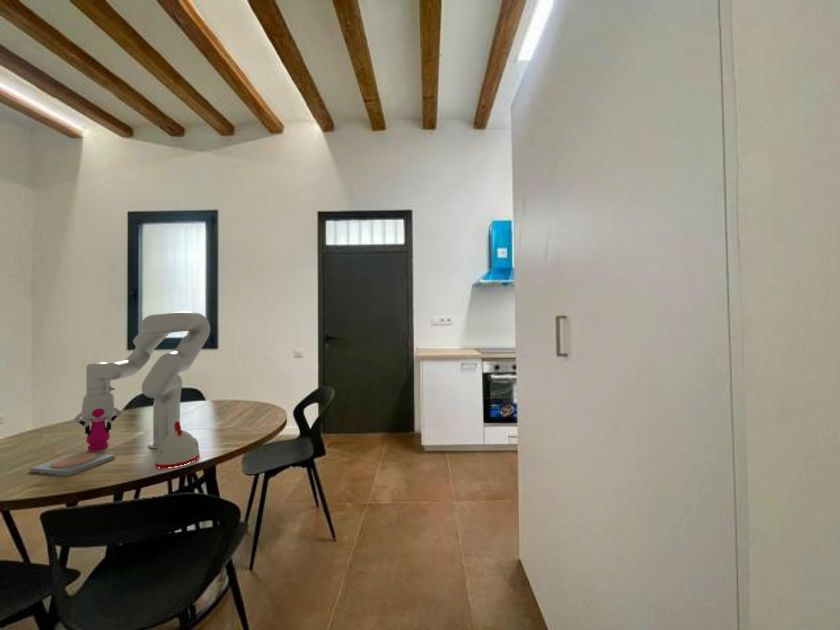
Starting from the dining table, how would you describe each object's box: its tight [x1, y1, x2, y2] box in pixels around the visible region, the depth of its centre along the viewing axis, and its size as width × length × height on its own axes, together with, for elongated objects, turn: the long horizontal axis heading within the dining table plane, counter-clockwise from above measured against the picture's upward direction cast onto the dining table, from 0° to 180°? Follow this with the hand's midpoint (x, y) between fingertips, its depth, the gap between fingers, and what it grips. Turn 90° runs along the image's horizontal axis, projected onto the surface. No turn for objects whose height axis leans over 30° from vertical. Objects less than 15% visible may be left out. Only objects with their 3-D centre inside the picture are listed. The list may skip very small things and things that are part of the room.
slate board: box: [29, 451, 116, 477], centre depth 127 cm, size 18×15×2 cm
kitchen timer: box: [155, 421, 200, 468], centre depth 130 cm, size 14×14×15 cm
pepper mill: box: [85, 409, 110, 452], centre depth 144 cm, size 7×7×20 cm
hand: (98, 433), depth 144 cm, fingers closed on pepper mill, 5 cm apart
